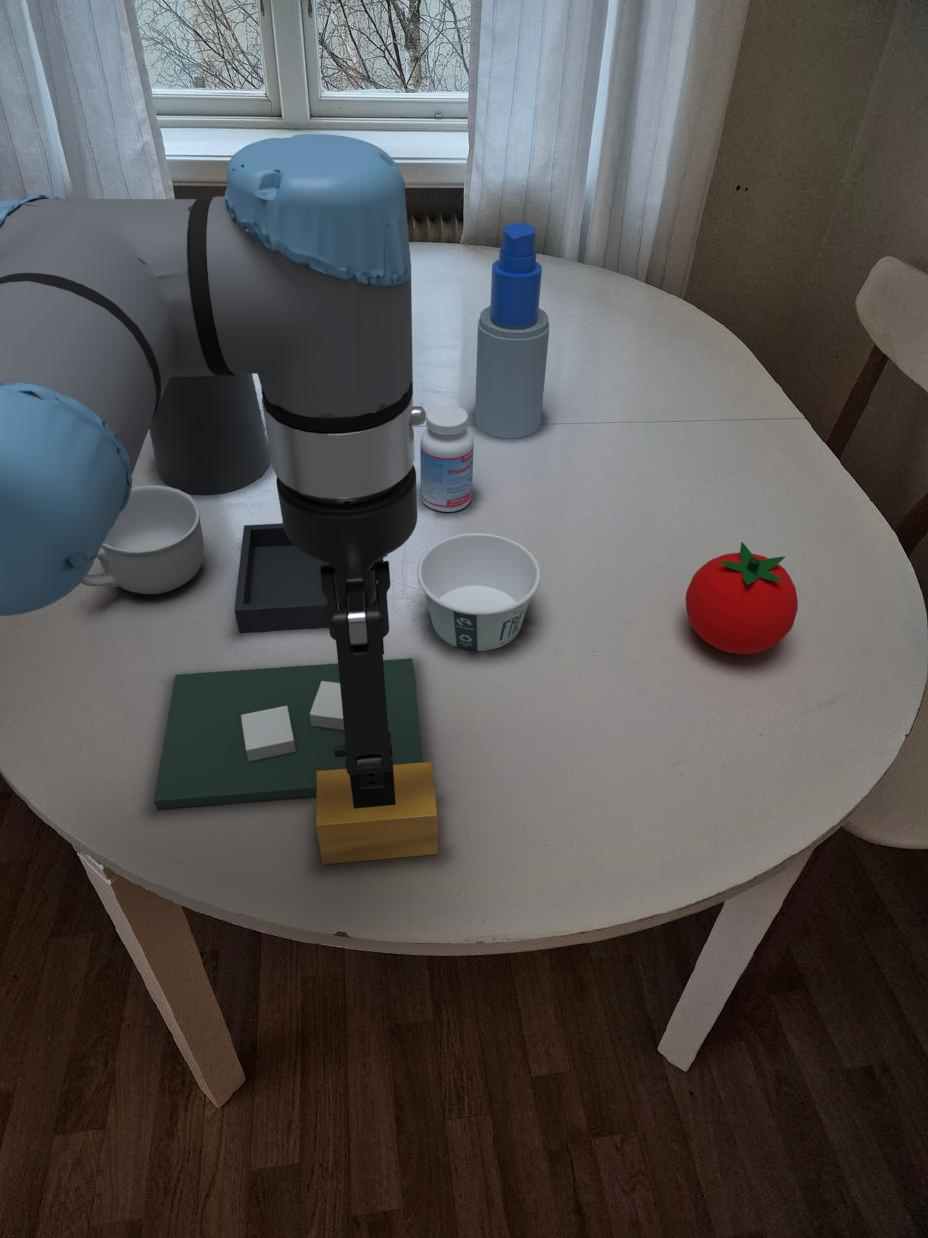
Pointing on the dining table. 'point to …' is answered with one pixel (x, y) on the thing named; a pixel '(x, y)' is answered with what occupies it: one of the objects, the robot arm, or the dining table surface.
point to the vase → (209, 434)
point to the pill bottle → (446, 459)
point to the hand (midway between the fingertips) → (370, 721)
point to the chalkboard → (214, 741)
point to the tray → (277, 583)
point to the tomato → (742, 602)
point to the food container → (478, 589)
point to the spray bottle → (512, 341)
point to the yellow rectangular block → (377, 817)
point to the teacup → (152, 543)
